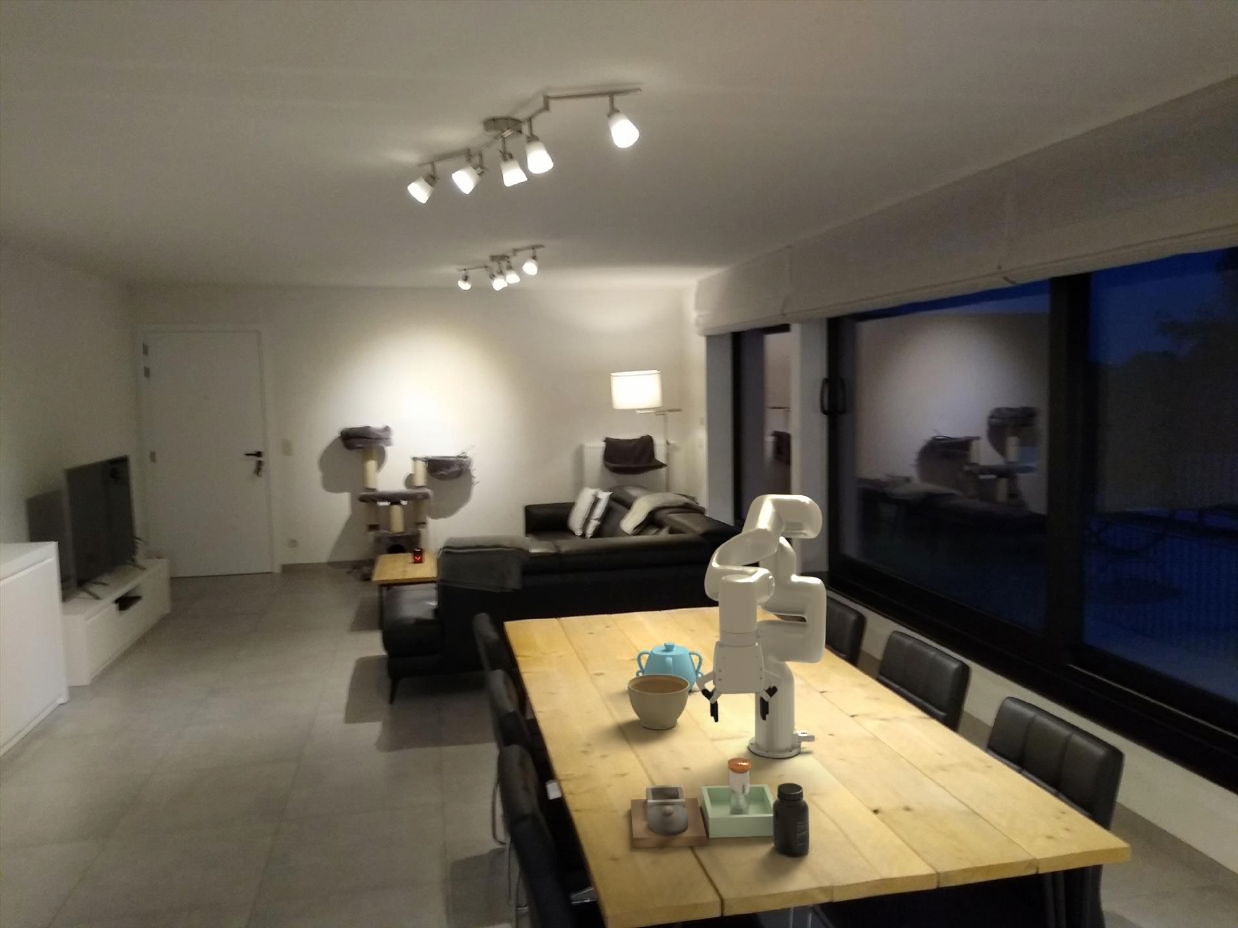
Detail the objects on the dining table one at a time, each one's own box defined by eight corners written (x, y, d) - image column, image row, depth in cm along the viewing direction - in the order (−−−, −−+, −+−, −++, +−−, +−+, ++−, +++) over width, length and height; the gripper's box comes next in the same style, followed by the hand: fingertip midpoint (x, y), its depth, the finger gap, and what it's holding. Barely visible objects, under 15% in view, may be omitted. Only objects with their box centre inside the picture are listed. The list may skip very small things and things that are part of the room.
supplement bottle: (804, 838, 175) (804, 779, 174) (813, 857, 168) (813, 795, 167) (769, 840, 174) (769, 780, 173) (776, 858, 168) (776, 796, 167)
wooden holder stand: (697, 806, 189) (696, 781, 188) (706, 845, 173) (705, 818, 172) (630, 808, 188) (630, 783, 188) (633, 847, 173) (633, 820, 172)
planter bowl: (685, 737, 226) (685, 695, 225) (622, 733, 229) (622, 691, 228) (693, 713, 242) (692, 674, 241) (634, 710, 245) (633, 671, 244)
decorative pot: (676, 676, 274) (675, 632, 272) (709, 690, 260) (708, 644, 259) (632, 686, 265) (630, 641, 264) (663, 701, 251) (662, 654, 250)
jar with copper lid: (749, 808, 185) (748, 757, 184) (752, 819, 181) (752, 766, 180) (726, 809, 185) (726, 757, 184) (730, 820, 181) (729, 767, 180)
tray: (767, 802, 190) (767, 784, 190) (780, 835, 176) (780, 815, 176) (701, 804, 190) (701, 785, 189) (709, 837, 176) (709, 817, 175)
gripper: (777, 629, 184) (778, 709, 186) (693, 632, 183) (694, 713, 185) (785, 641, 176) (785, 724, 178) (697, 644, 176) (698, 727, 178)
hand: (739, 718), depth 182 cm, fingers open, 9 cm apart
